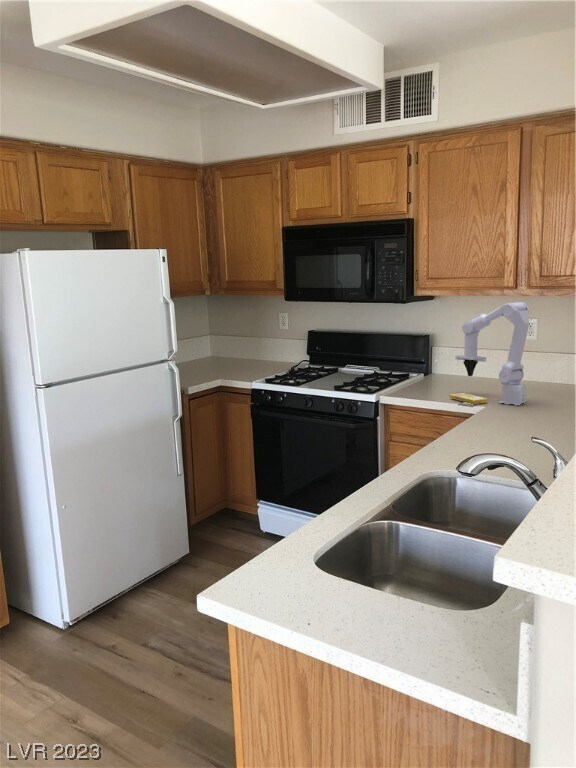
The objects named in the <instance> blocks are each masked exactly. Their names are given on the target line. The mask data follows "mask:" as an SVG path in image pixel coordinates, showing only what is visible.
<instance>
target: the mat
mask: <svg viewBox="0 0 576 768" xmlns="http://www.w3.org/2000/svg"><path fill="white" fill-rule="evenodd" d="M457 406H463V407H471V408H473V407H476V406H478V405H477V404H473V405H471V404H463V403H462V402H460V403H457Z"/></svg>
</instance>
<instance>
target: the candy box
mask: <svg viewBox="0 0 576 768" xmlns="http://www.w3.org/2000/svg"><path fill="white" fill-rule="evenodd" d="M449 399H453V400H455V401H461V402H467V403H471V404H478V405H480V404H479V403H481V404H485V403H488V400H489V399H488V398H486V397H483V396H478V395H475V394H471V393H465V392H461V393H453V394H452V393H451V394H449Z"/></svg>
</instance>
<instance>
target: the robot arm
mask: <svg viewBox="0 0 576 768" xmlns="http://www.w3.org/2000/svg"><path fill="white" fill-rule="evenodd" d="M529 313H530V308H529V307H528V305H527V304H526V303H525V302H524V301H519V302H506V303H504V304H502V305H500V306H499V307H498V308H496V309H494V310H493V311H491V312H490V313H488V314H487V313H479V314H478V316H477V317H475V318H471V320H470V321H469V320H467V321H465V322H463V324H462V326H461V328H462V329H461V330H462V332H463V334H464V351H463V353H464V354H462V355H460V354H458V355H457V354H456V355H455V360H456V361H463V365H464V367H465V370H466V373H467V377H473V375H474V371H475V368H476V367H477V365H478V363H479V362H483V363H485V362H487V357H486V356H478V337H479V333H480V331H481V330H483V329H485V328H486V327H488V326H490V325H491V323H492V321H494V320H496V319H499V318H501V317H502V316H504V317H505V318H506V319H507V320H508V321H509V322H510V323H512V325H513V326H514V328H513V333H512V336H511V337H512V338H511V342H510V346H509V351H508V356H507V360H506V362H505V363H504V364H503V365H502V367H501V369H500V371H499V373H498V379H499V381H500V383H501V400H500V401H498V402H497V403H498V404H500V403H506V404H505V405H509V404H514V405H513V406H517V405H519V406H521V405H520V404H522V403H524V404H526V403H525V402H526V395H527V394H526V391H527V389H526V385H525V384H522V382H521V381H522V380H523V379H524V375H525V374H524V365H523V364H522V362H521V361H522V357H523V353H524V348H525V346H526V340H527V336H528V331H529V328H530V320H529ZM522 405H523V404H522Z"/></svg>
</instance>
